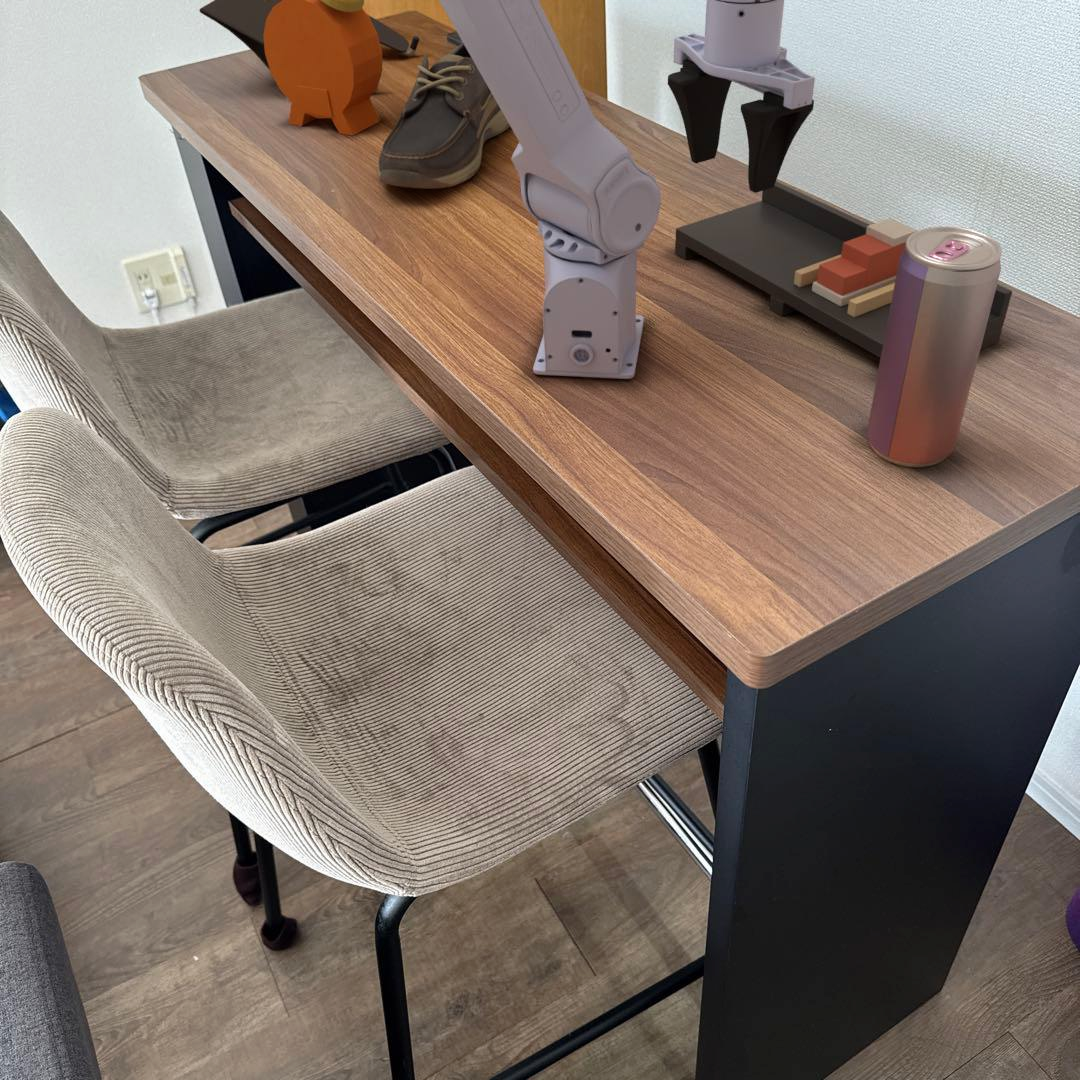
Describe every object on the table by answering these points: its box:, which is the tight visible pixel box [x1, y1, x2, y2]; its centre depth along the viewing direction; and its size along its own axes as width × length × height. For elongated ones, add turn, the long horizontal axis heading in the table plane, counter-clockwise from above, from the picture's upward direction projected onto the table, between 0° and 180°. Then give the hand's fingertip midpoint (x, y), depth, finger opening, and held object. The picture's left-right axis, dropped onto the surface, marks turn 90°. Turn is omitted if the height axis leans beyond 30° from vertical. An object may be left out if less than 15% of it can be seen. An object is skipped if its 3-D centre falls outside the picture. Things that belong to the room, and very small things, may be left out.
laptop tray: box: [198, 0, 420, 93], centre depth 143 cm, size 23×23×9 cm
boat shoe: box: [377, 42, 511, 190], centre depth 117 cm, size 11×29×11 cm, turn 166°
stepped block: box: [812, 217, 918, 306], centre depth 86 cm, size 8×3×4 cm, turn 122°
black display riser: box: [674, 180, 1013, 359], centre depth 90 cm, size 28×11×4 cm, turn 32°
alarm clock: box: [263, 0, 383, 136], centre depth 123 cm, size 13×6×20 cm, turn 59°
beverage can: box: [866, 225, 1003, 468], centre depth 70 cm, size 6×6×15 cm
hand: (731, 173), depth 87 cm, fingers open, 7 cm apart
